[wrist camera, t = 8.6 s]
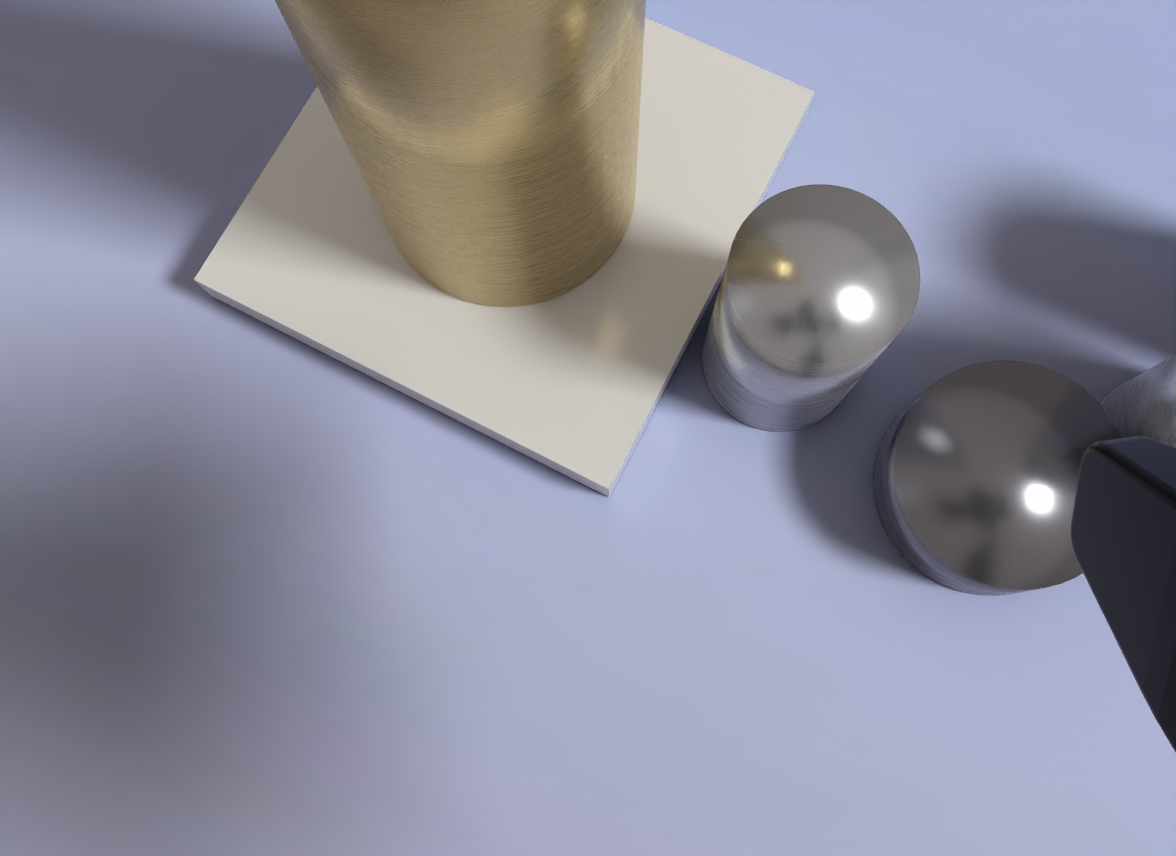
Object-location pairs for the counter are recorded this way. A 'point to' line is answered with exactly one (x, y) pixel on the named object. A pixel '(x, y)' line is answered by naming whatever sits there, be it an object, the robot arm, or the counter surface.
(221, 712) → the counter surface
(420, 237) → the brass tube
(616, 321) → the tile
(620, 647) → the counter surface
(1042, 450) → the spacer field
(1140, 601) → the robot arm
